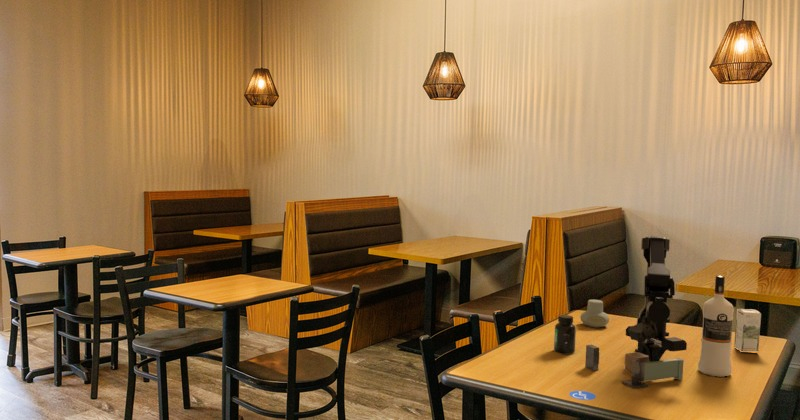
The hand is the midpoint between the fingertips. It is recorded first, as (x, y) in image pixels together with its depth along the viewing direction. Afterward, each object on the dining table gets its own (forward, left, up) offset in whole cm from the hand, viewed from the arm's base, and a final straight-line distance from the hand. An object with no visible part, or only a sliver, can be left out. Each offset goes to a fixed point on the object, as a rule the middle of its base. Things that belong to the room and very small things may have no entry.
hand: (653, 366), depth 186 cm
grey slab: (+1, +4, -3) cm, 5 cm away
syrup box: (-53, -11, -4) cm, 54 cm away
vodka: (-22, +3, -4) cm, 22 cm away
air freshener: (-25, -56, -4) cm, 62 cm away
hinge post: (+10, +4, -3) cm, 11 cm away
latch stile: (+12, -12, -3) cm, 18 cm away
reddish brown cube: (0, -6, -4) cm, 7 cm away
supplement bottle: (+9, -30, -4) cm, 32 cm away
